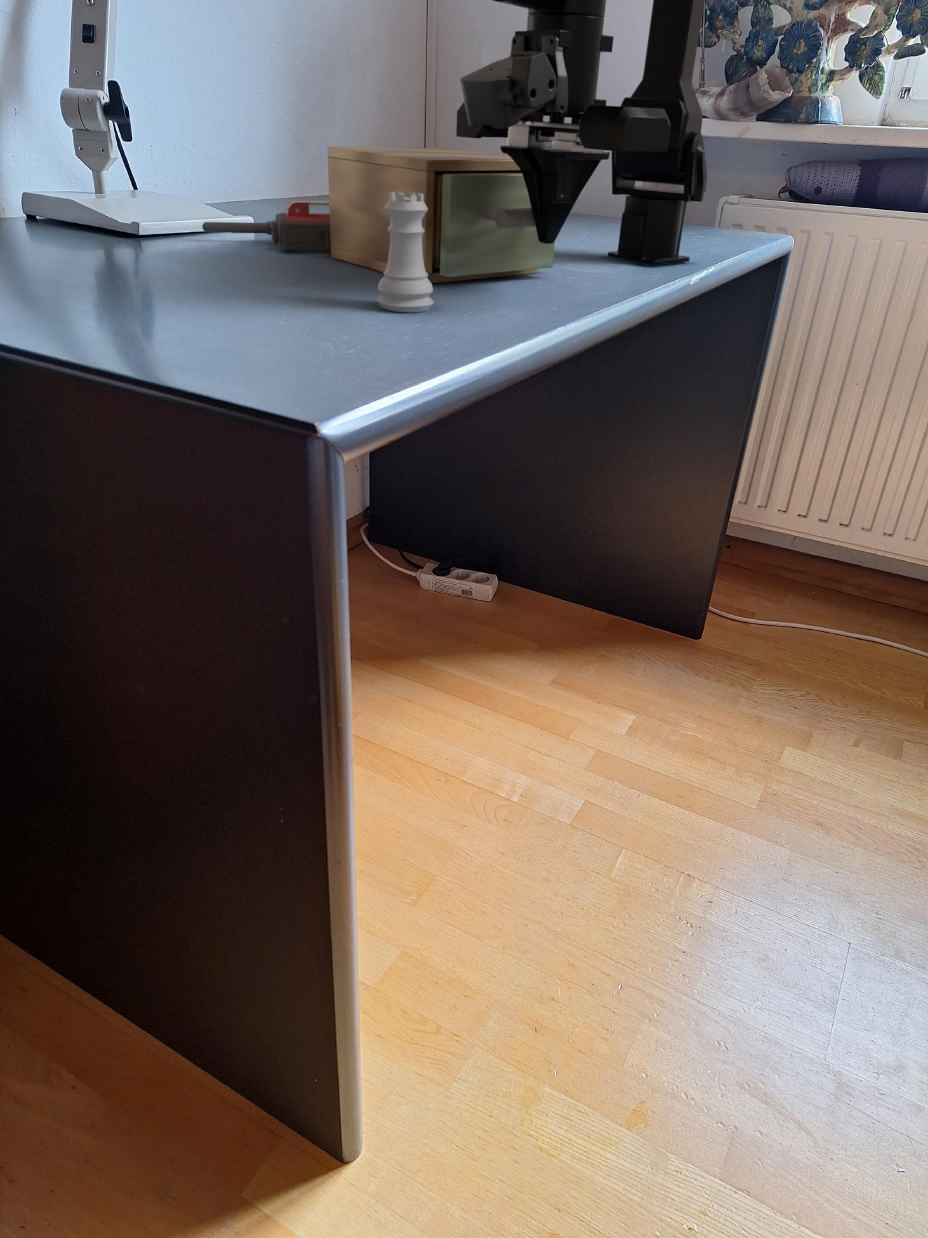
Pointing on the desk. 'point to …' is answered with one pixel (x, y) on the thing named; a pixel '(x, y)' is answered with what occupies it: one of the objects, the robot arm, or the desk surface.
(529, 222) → the drawer
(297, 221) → the walkie-talkie
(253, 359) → the desk surface
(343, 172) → the cabinet
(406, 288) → the rook chess piece
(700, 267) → the desk surface
